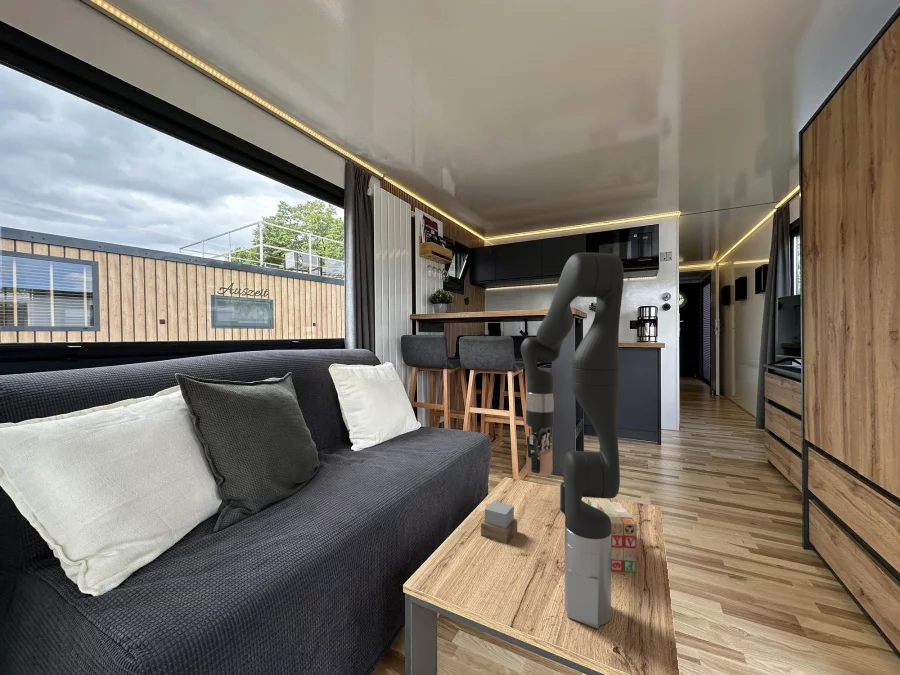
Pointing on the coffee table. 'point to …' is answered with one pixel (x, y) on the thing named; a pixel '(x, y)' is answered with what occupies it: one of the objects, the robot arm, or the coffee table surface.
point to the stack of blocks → (620, 535)
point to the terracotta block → (541, 463)
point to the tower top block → (499, 514)
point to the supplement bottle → (562, 497)
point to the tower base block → (499, 531)
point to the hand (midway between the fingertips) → (539, 469)
